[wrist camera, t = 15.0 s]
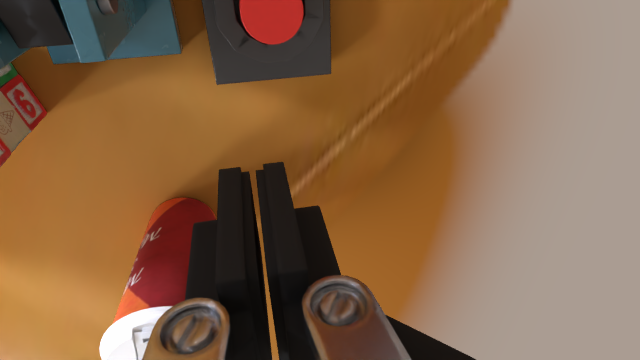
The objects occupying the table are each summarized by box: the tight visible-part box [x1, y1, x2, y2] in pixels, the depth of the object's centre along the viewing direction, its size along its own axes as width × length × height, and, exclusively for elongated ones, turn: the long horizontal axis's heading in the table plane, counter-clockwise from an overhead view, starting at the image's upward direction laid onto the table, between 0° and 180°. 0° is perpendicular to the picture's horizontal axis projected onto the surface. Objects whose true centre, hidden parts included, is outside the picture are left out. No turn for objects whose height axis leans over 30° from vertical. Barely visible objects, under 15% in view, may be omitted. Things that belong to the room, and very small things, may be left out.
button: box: [239, 0, 304, 44], centre depth 24 cm, size 4×4×2 cm
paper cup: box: [100, 198, 216, 360], centre depth 31 cm, size 8×8×14 cm
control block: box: [202, 0, 331, 85], centre depth 26 cm, size 10×8×4 cm
